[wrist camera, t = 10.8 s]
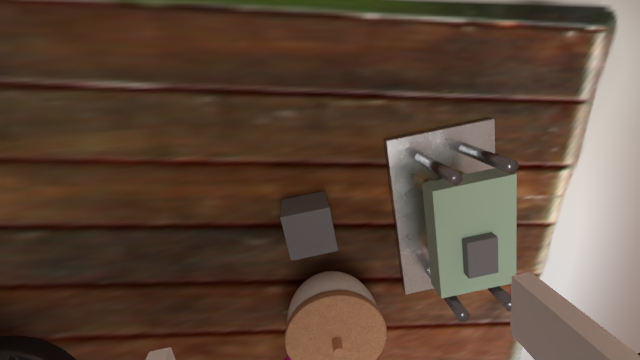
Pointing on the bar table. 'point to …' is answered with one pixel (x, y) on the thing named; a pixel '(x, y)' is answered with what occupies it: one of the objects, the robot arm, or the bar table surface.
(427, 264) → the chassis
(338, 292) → the lidded jar
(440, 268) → the board
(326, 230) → the dark grey cube
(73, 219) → the bar table surface
